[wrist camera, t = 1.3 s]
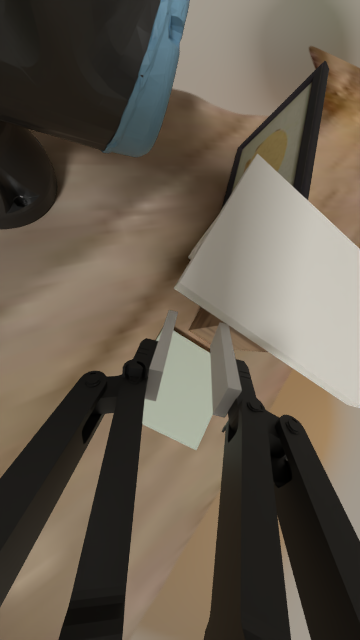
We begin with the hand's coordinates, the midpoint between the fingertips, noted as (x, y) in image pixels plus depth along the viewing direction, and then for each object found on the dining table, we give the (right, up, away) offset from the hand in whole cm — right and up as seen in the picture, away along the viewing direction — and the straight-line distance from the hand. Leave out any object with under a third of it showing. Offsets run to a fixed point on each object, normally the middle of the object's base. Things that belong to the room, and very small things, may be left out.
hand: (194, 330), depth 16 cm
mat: (-1, -10, +13) cm, 17 cm away
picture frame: (+11, +24, +21) cm, 34 cm away
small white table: (+5, +2, +17) cm, 18 cm away
